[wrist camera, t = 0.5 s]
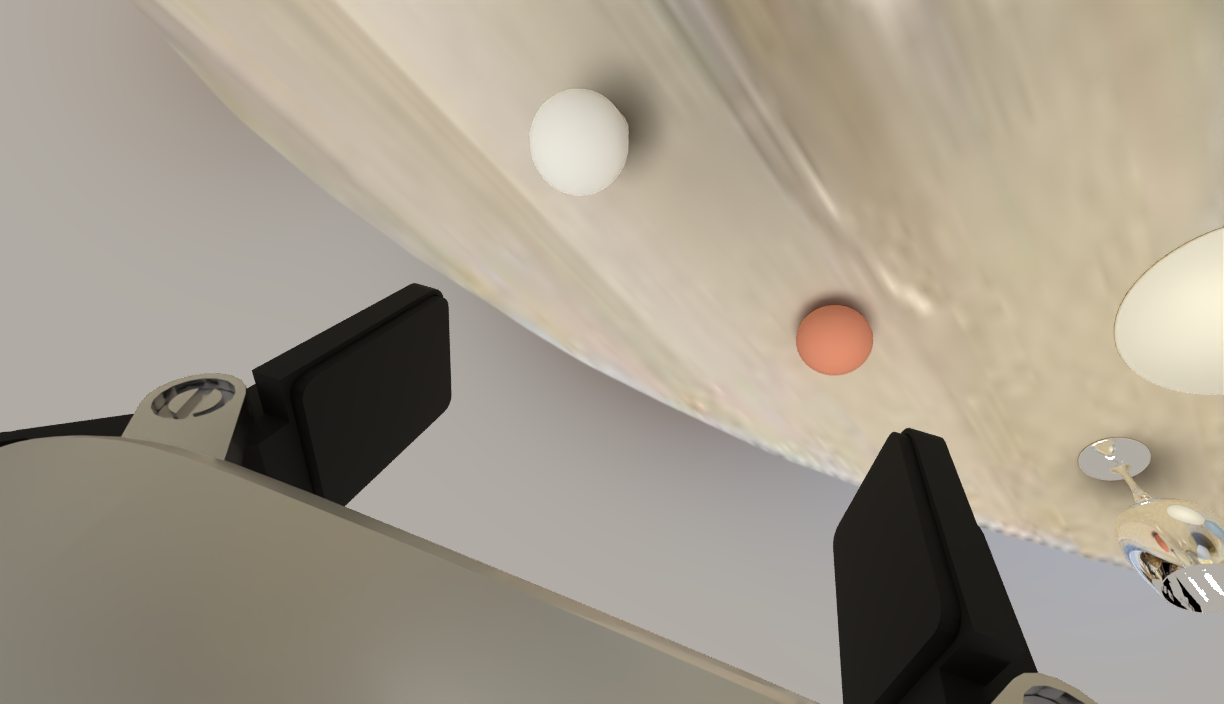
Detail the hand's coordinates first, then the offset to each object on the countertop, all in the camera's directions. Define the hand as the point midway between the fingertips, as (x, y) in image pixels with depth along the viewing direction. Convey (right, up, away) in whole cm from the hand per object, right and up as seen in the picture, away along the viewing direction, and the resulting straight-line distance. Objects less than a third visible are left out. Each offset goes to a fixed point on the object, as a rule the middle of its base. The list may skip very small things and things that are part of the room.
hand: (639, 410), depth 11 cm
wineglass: (+40, -7, +30) cm, 51 cm away
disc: (+41, +4, +23) cm, 47 cm away
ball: (+17, +2, +30) cm, 34 cm away
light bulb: (0, +19, +30) cm, 35 cm away
